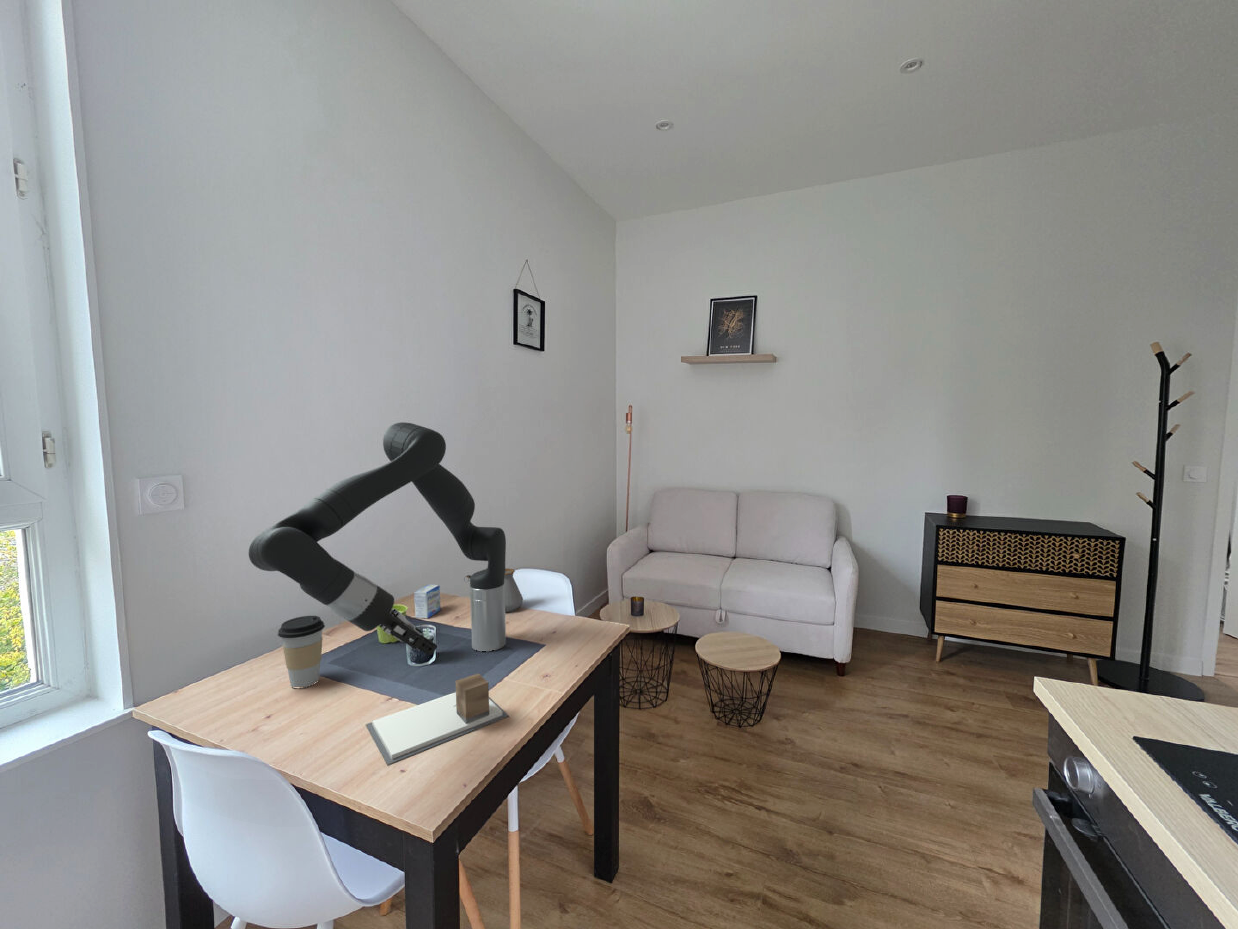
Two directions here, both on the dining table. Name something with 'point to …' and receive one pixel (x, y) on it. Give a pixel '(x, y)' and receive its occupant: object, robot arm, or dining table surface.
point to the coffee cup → (302, 649)
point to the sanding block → (472, 698)
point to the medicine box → (427, 601)
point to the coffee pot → (510, 591)
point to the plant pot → (382, 634)
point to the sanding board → (425, 727)
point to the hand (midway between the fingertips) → (426, 643)
